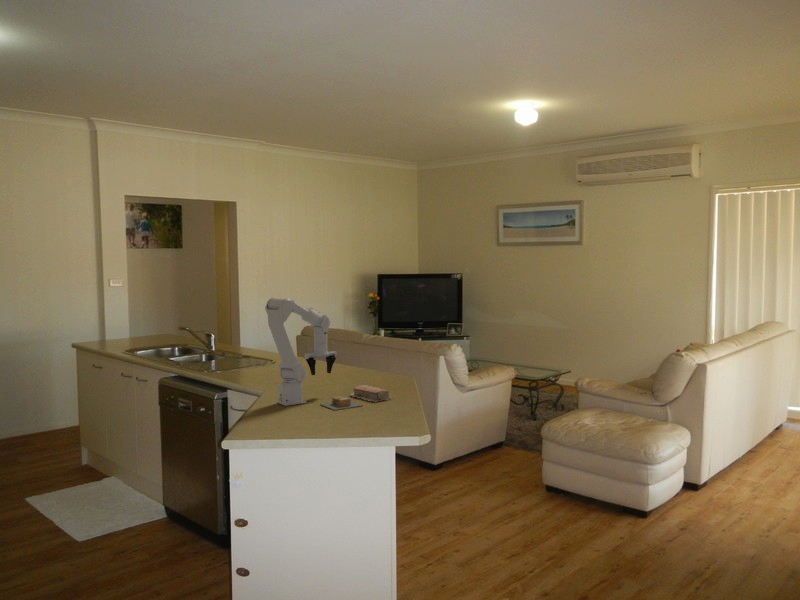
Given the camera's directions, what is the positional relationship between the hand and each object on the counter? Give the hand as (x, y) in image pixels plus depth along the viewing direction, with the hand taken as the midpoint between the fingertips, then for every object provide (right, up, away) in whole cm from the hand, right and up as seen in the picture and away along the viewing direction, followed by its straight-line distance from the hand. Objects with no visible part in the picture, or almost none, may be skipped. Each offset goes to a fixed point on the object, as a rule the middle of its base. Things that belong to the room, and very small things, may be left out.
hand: (321, 374), depth 281 cm
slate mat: (+10, -11, -19) cm, 24 cm away
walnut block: (+10, -10, -19) cm, 24 cm away
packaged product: (+21, -10, -4) cm, 24 cm away
